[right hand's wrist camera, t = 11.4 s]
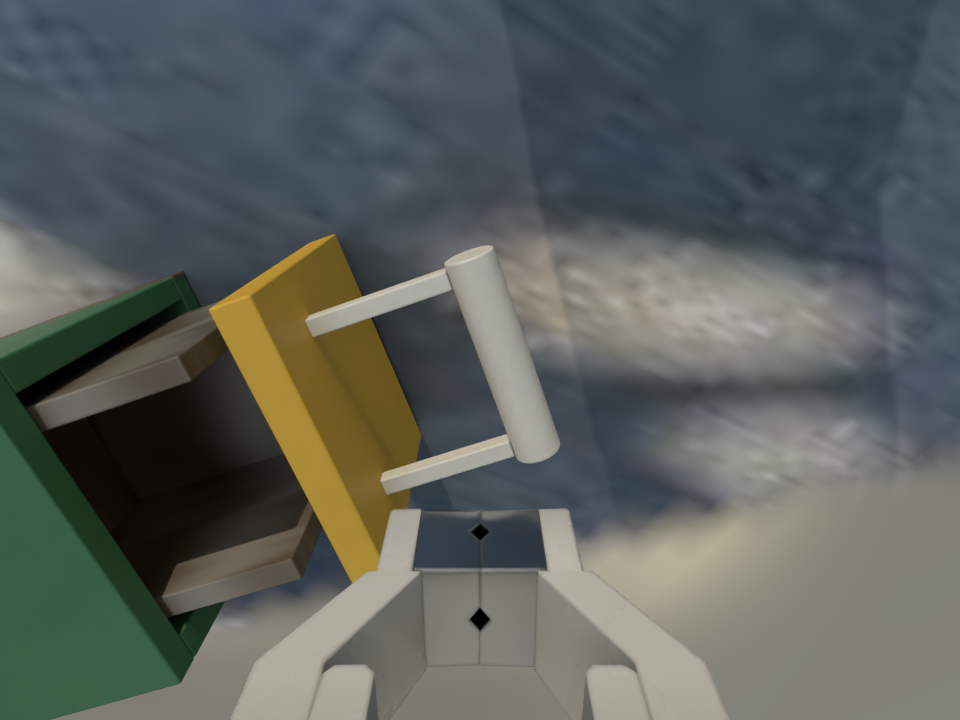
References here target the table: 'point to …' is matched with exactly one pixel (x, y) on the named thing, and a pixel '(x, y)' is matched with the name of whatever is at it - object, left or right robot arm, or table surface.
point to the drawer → (274, 424)
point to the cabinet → (76, 542)
